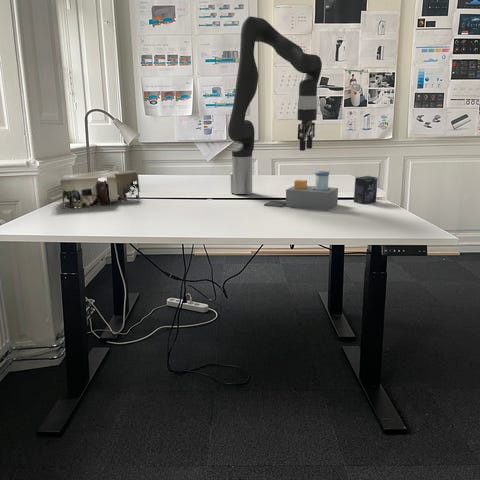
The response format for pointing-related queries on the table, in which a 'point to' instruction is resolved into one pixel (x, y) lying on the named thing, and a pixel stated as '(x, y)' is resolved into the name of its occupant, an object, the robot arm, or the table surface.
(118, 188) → the beige boxy piece
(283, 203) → the mat
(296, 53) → the robot arm
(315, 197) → the housing
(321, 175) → the cartridge
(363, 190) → the box
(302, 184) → the orange rectangular block
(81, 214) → the table surface
